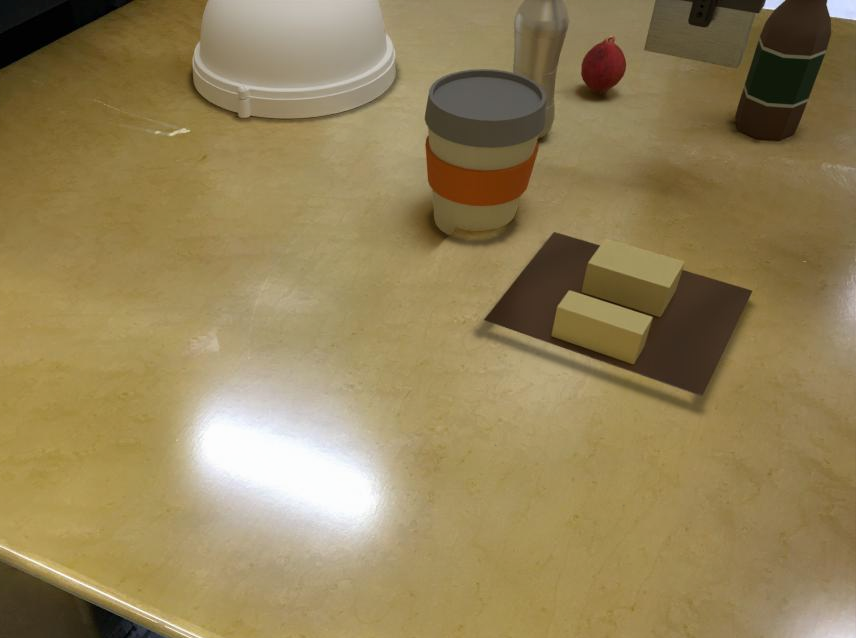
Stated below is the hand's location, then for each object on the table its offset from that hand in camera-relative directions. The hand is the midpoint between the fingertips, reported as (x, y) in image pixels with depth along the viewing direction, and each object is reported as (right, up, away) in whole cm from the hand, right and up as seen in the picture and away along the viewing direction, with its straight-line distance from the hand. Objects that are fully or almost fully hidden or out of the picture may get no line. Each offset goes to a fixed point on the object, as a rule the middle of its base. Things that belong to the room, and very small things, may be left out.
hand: (702, 19), depth 95 cm
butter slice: (-14, -35, -10) cm, 39 cm away
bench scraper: (0, -3, +3) cm, 4 cm away
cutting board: (-11, -32, -5) cm, 34 cm away
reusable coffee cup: (-23, -20, +8) cm, 31 cm away
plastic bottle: (-13, -5, +23) cm, 27 cm away
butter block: (-9, -29, -5) cm, 31 cm away
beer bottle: (+18, -5, +22) cm, 29 cm away
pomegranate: (-1, +3, +31) cm, 31 cm away
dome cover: (-44, +8, +38) cm, 59 cm away
